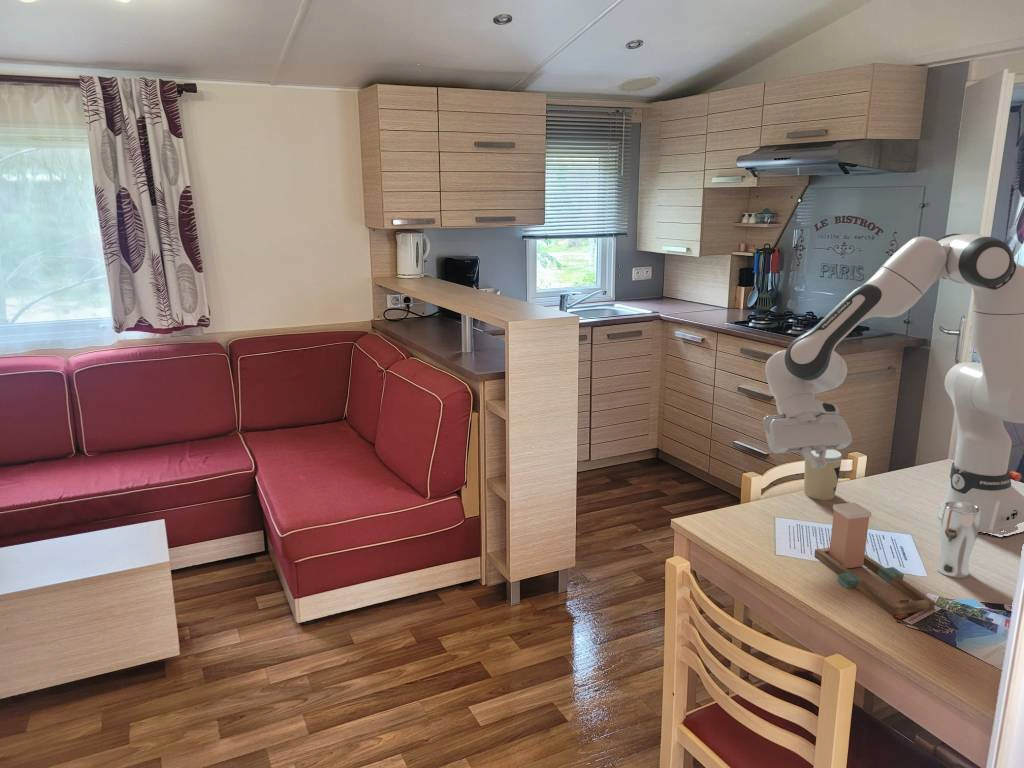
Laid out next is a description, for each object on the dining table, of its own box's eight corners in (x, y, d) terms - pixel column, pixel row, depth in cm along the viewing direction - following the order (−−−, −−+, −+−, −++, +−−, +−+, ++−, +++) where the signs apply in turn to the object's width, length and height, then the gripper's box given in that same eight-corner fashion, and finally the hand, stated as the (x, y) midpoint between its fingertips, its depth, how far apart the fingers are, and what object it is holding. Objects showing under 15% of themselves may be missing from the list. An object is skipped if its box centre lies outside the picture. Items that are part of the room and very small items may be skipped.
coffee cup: (841, 502, 197) (846, 459, 194) (803, 499, 199) (808, 457, 196) (833, 489, 206) (838, 447, 203) (798, 486, 207) (802, 445, 204)
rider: (848, 555, 168) (854, 502, 165) (864, 566, 163) (871, 512, 160) (827, 557, 167) (833, 504, 163) (842, 569, 162) (849, 514, 158)
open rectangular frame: (858, 550, 170) (859, 544, 170) (942, 608, 147) (943, 600, 146) (806, 556, 168) (807, 550, 167) (883, 616, 144) (884, 609, 144)
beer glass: (970, 582, 156) (981, 516, 153) (932, 573, 160) (942, 509, 156) (971, 568, 162) (982, 504, 158) (934, 560, 166) (944, 497, 162)
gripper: (766, 409, 173) (785, 463, 166) (843, 405, 178) (865, 457, 171) (754, 422, 179) (772, 475, 172) (829, 417, 183) (850, 469, 176)
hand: (819, 466), depth 171 cm, fingers closed
